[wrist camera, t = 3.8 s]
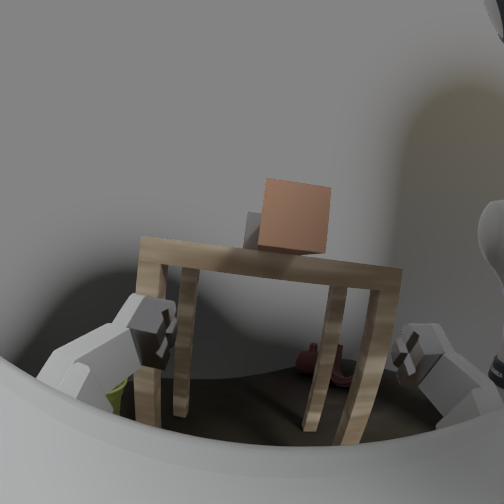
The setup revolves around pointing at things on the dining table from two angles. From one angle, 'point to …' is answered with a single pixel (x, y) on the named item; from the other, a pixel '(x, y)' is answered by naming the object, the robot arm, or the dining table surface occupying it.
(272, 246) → the mallet
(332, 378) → the bracket
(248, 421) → the dining table surface
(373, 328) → the frame
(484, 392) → the robot arm
